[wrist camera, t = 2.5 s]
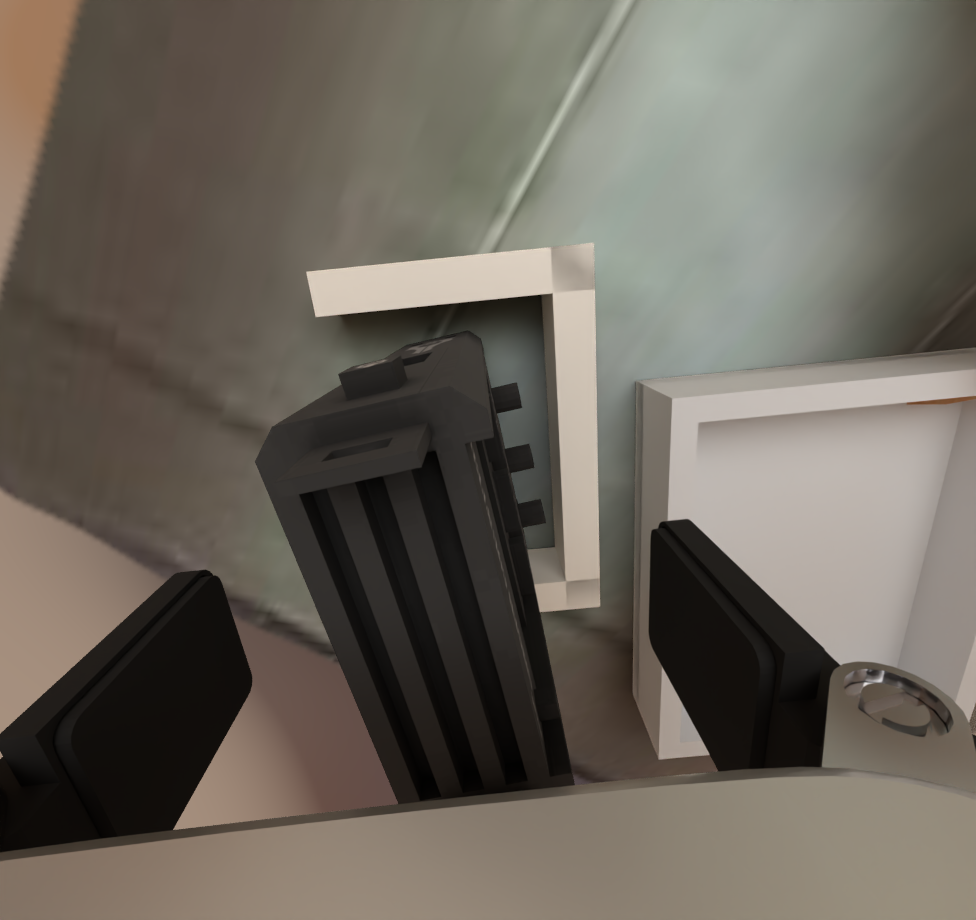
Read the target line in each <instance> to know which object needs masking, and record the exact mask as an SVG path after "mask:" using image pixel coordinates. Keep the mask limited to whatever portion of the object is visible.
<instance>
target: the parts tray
mask: <svg viewBox="0 0 976 920" xmlns="http://www.w3.org/2000/svg"><path fill="white" fill-rule="evenodd" d="M968 396H976V348H965V349H955V350H945V351H935V352H924V353H914V354H904V355H894V356H884V357H873V358H863V359H853V360H843V361H832V362H822V363H812V364H802V365H792V366H781V367H771V368H761V369H751V370H740V371H730V372H720V373H710V374H700V375H689V376H679V377H669V378H659V379H649V380H638V381H636V437H635V523H634V609H633V696H634V699H635V701H636V704H637V706H638V709H639V711H640V714H641V716H642V719H643V721H644V724H645V726H646V729H647V732H648V734H649V737H650V739H651V742H652V744H653V747H654V749H655V752H656V754H657V757H658V759H670V758H681V757H692V756H703V755H710V754H709V752H708V750H707V749H706V747H705V745H704V743H703V741H702V739H701V738H700V736H699V734H698V732H697V730H696V728H695V726H694V725H693V723H692V721H691V719H690V717H689V715H688V714H687V712H686V710H685V708H684V706H683V704H682V702H681V701H680V699H679V697H678V695H677V693H676V691H675V689H674V688H673V686H672V684H671V682H670V680H669V678H668V677H667V675H666V673H665V671H664V669H663V667H662V665H661V664H660V662H659V660H658V658H657V656H656V654H655V653H654V651H653V649H652V646H651V643H650V639H649V631H648V629H649V584H650V539H651V531H652V530H653V529H658V526H659V523H660V522H662V521H671V520H681V519H689V520H691V521H692V522H693V523H694V524H695V525H696V526H697V527H698V528H699V529H700V530H701V531H702V532H703V533H704V534H705V535H706V536H708V537H709V538H710V539H711V540H712V541H713V542H714V543H715V544H716V545H717V546H718V547H719V548H720V549H721V550H722V551H723V552H724V553H725V554H726V555H727V556H728V557H729V558H730V559H731V560H733V561H734V562H735V563H736V564H737V565H738V566H739V567H740V568H741V569H742V570H743V571H744V572H745V573H746V574H747V575H748V576H749V577H750V578H751V579H752V580H753V581H754V582H755V583H757V584H758V585H759V586H760V587H761V588H762V589H763V590H764V591H765V592H766V593H767V594H768V595H769V596H770V597H771V598H772V599H773V600H774V601H775V602H776V603H777V604H778V605H779V606H781V607H782V608H783V609H784V610H785V611H786V612H787V613H788V614H789V615H790V616H791V617H792V618H793V619H794V620H795V621H796V622H797V623H798V624H799V625H800V626H801V627H802V628H803V629H805V630H806V631H807V632H808V633H809V634H810V635H811V636H812V637H813V638H814V639H815V640H816V641H817V642H818V643H819V644H820V645H821V646H822V647H823V648H824V649H825V651H826V652H827V653H828V654H829V655H830V656H831V657H832V658H833V659H834V660H835V661H836V662H838V663H839V664H840V665H842V664H845V663H851V662H856V661H860V662H875V663H879V664H884V665H888V666H893V667H896V668H898V669H901V670H904V671H906V672H909V673H912V674H914V675H916V676H918V677H920V678H922V679H923V680H925V681H927V682H929V683H931V684H933V685H934V686H936V687H937V688H938V689H940V690H941V691H942V692H944V693H945V694H946V695H948V696H949V697H951V698H952V700H953V701H954V702H955V703H956V704H957V705H958V706H959V707H960V708H961V709H962V710H963V712H964V714H965V716H966V718H967V720H968V722H969V721H970V718H971V715H972V712H973V709H974V706H975V703H976V399H973V400H968V401H962V402H956V403H951V404H928V405H907V402H917V401H927V400H937V399H948V398H958V397H968Z"/></svg>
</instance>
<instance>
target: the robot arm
mask: <svg viewBox="0 0 976 920" xmlns="http://www.w3.org/2000/svg"><path fill="white" fill-rule="evenodd" d="M648 631H649V639H650V643H651V646H652V649H653V651H654V653H655V654H656V656H657V658H658V660H659V662H660V664H661V665H662V667H663V669H664V671H665V673H666V675H667V677H668V678H669V680H670V682H671V684H672V686H673V688H674V689H675V691H676V693H677V695H678V697H679V699H680V701H681V702H682V704H683V706H684V708H685V710H686V712H687V714H688V715H689V717H690V719H691V721H692V723H693V725H694V726H695V728H696V730H697V732H698V734H699V736H700V738H701V739H702V741H703V743H704V745H705V747H706V749H707V750H708V752H709V754H710V756H711V758H712V760H713V762H714V763H715V765H716V767H717V769H718V771H719V772H708V773H696V774H685V775H674V776H662V777H651V778H639V779H629V780H620V781H611V782H601V783H592V784H582V785H573V786H563V787H554V788H544V789H535V790H525V791H516V792H506V793H497V794H487V795H478V796H469V797H460V798H451V799H442V800H433V801H424V802H415V803H406V804H397V805H389V806H379V807H370V808H362V809H352V810H343V811H335V812H325V813H317V814H309V815H299V816H290V817H282V818H272V819H264V820H256V821H248V822H239V823H230V824H221V825H213V826H205V827H196V828H188V829H179V830H173V829H174V827H175V825H176V823H177V821H178V820H179V818H180V816H181V814H182V813H183V811H184V809H185V807H186V805H187V804H188V802H189V800H190V798H191V796H192V795H193V793H194V791H195V789H196V788H197V786H198V784H199V782H200V780H201V779H202V777H203V775H204V773H205V772H206V770H207V768H208V766H209V764H210V763H211V761H212V759H213V757H214V755H215V754H216V752H217V750H218V748H219V746H220V745H221V743H222V741H223V739H224V738H225V736H226V734H227V732H228V730H229V729H230V727H231V725H232V723H233V722H234V720H235V718H236V716H237V715H238V713H239V711H240V709H241V707H242V706H243V704H244V702H245V700H246V698H247V697H248V695H249V693H250V691H251V687H252V674H251V671H250V668H249V665H248V662H247V658H246V655H245V653H244V649H243V646H242V644H241V640H240V637H239V634H238V631H237V628H236V625H235V622H234V619H233V616H232V613H231V610H230V607H229V604H228V600H227V597H226V594H225V591H224V588H223V585H222V582H221V580H220V578H219V577H218V576H213V574H212V573H211V572H210V571H208V570H199V571H189V572H180V573H176V574H174V575H173V576H172V577H171V578H170V579H168V580H167V581H166V582H165V583H164V584H163V585H162V586H161V587H160V588H159V589H158V590H156V591H155V592H154V593H153V594H152V595H151V596H150V597H149V598H148V599H147V600H146V601H145V602H143V603H142V604H141V605H140V606H139V607H138V608H137V609H136V610H135V611H134V612H132V613H131V614H130V615H129V616H128V617H127V618H126V619H125V620H124V621H123V622H122V623H120V624H119V626H117V627H116V628H115V629H114V630H113V631H112V632H111V633H110V634H108V635H107V636H106V637H105V638H104V639H103V640H102V641H101V642H100V643H99V644H98V645H96V647H94V648H93V649H92V650H91V651H90V652H89V653H88V654H87V655H86V656H85V657H83V658H82V659H81V660H80V661H79V662H78V663H77V664H76V665H75V666H74V667H72V668H71V669H70V670H69V671H68V672H67V673H66V674H65V675H64V676H63V677H62V678H61V679H60V680H58V681H57V682H56V683H55V684H54V685H53V686H52V687H51V688H50V689H49V690H47V691H46V692H45V693H44V694H43V695H42V696H41V697H40V698H39V699H38V700H37V701H35V702H34V703H33V704H32V705H31V706H30V707H29V708H28V709H27V710H26V711H25V712H23V713H22V714H21V715H20V716H19V717H18V718H17V719H16V720H15V721H14V722H13V723H11V724H10V725H9V726H8V727H7V728H6V729H5V730H4V731H3V732H2V733H1V734H0V752H1V753H2V755H3V757H2V758H1V759H0V920H976V736H975V735H973V734H972V732H971V727H970V724H969V722H968V720H967V718H966V716H965V714H964V712H963V710H962V709H961V708H960V707H959V706H958V705H957V704H956V703H955V702H954V701H953V700H952V698H951V697H949V696H948V695H946V694H945V693H944V692H942V691H941V690H940V689H938V688H937V687H936V686H934V685H933V684H931V683H929V682H927V681H925V680H923V679H922V678H920V677H918V676H916V675H914V674H912V673H909V672H906V671H904V670H901V669H898V668H896V667H893V666H888V665H884V664H879V663H875V662H860V661H856V662H851V663H845V664H842V665H840V664H839V663H838V662H836V661H835V660H834V659H833V658H832V657H831V656H830V655H829V654H828V653H827V652H826V651H825V649H824V648H823V647H822V646H821V645H820V644H819V643H818V642H817V641H816V640H815V639H814V638H813V637H812V636H811V635H810V634H809V633H808V632H807V631H806V630H805V629H803V628H802V627H801V626H800V625H799V624H798V623H797V622H796V621H795V620H794V619H793V618H792V617H791V616H790V615H789V614H788V613H787V612H786V611H785V610H784V609H783V608H782V607H781V606H779V605H778V604H777V603H776V602H775V601H774V600H773V599H772V598H771V597H770V596H769V595H768V594H767V593H766V592H765V591H764V590H763V589H762V588H761V587H760V586H759V585H758V584H757V583H755V582H754V581H753V580H752V579H751V578H750V577H749V576H748V575H747V574H746V573H745V572H744V571H743V570H742V569H741V568H740V567H739V566H738V565H737V564H736V563H735V562H734V561H733V560H731V559H730V558H729V557H728V556H727V555H726V554H725V553H724V552H723V551H722V550H721V549H720V548H719V547H718V546H717V545H716V544H715V543H714V542H713V541H712V540H711V539H710V538H709V537H708V536H706V535H705V534H704V533H703V532H702V531H701V530H700V529H699V528H698V527H697V526H696V525H695V524H694V523H693V522H692V521H691V520H689V519H681V520H671V521H662V522H660V523H659V526H658V529H653V530H652V531H651V539H650V584H649V629H648Z"/></svg>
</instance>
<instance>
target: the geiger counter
mask: <svg viewBox="0 0 976 920" xmlns="http://www.w3.org/2000/svg"><path fill="white" fill-rule="evenodd" d="M338 375H339V378H340V381H341V384H342V385H340V386H339V387H337V388H335V389H334V390H332V391H330V392H329V393H327V394H325V395H324V396H322V397H321V398H319V399H317V400H316V401H314V402H312V403H311V404H309V405H307V406H306V407H304V408H302V409H301V410H299V411H298V412H296V413H294V414H293V415H291V416H289V417H288V418H286V419H284V420H283V421H281V422H279V423H278V424H276V425H275V426H273V427H272V428H271V430H270V432H269V434H268V436H267V438H266V440H265V442H264V444H263V446H262V448H261V451H260V453H259V455H258V457H257V459H256V461H255V463H256V465H257V468H258V470H259V472H260V475H261V477H262V479H263V482H264V484H265V487H266V489H267V491H268V494H269V496H270V499H271V501H272V503H273V506H274V508H275V510H276V513H277V515H278V518H279V520H280V522H281V525H282V527H283V530H284V532H285V534H286V537H287V539H288V541H289V544H290V546H291V549H292V551H293V553H294V556H295V558H296V561H297V563H298V565H299V568H300V570H301V572H302V575H303V577H304V580H305V582H306V584H307V587H308V589H309V592H310V594H311V596H312V599H313V601H314V603H315V606H316V608H317V611H318V613H319V615H320V618H321V620H322V623H323V625H324V627H325V630H326V632H327V634H328V637H329V639H330V642H331V644H332V646H333V649H334V651H335V654H336V656H337V658H338V661H339V663H340V665H341V668H342V670H343V673H344V675H345V677H346V680H347V682H348V685H349V687H350V689H351V692H352V694H353V696H354V699H355V701H356V703H357V706H358V708H359V711H360V713H361V716H362V718H363V720H364V723H365V725H366V727H367V730H368V732H369V735H370V737H371V739H372V742H373V744H374V747H375V749H376V751H377V754H378V756H379V758H380V761H381V763H382V766H383V768H384V770H385V773H386V775H387V778H388V780H389V782H390V785H391V787H392V789H393V792H394V794H395V796H396V799H397V801H398V804H406V803H415V802H424V801H433V800H442V799H451V798H460V797H469V796H478V795H487V794H497V793H506V792H516V791H525V790H535V789H544V788H554V787H563V786H573V785H575V784H574V779H573V774H572V769H571V764H570V759H569V754H568V749H567V744H566V739H565V734H564V729H563V724H562V719H561V714H560V709H559V704H558V699H557V695H556V690H555V685H554V680H553V675H552V670H551V665H550V660H549V655H548V650H547V645H546V640H545V635H544V630H543V625H542V620H541V615H540V610H539V605H538V600H537V595H536V590H535V585H534V580H533V575H532V571H531V566H530V561H529V556H528V551H527V546H526V541H525V536H524V531H523V527H528V526H533V525H537V524H542V523H546V521H545V516H544V511H543V507H542V503H541V500H540V499H539V500H534V501H530V502H525V503H521V504H518V502H517V499H516V495H515V491H514V486H513V482H512V478H511V473H512V472H517V471H522V470H526V469H531V468H534V463H533V458H532V453H531V449H530V445H529V444H525V445H521V446H516V447H512V448H507V449H505V447H504V442H503V438H502V433H501V429H500V424H499V420H498V416H497V413H501V412H505V411H510V410H514V409H519V408H522V405H521V400H520V395H519V390H518V386H517V383H512V384H508V385H504V386H499V387H495V388H491V384H490V380H489V376H488V371H487V367H486V362H485V358H484V352H483V346H482V342H481V339H480V338H479V337H477V336H476V335H474V334H473V333H471V332H469V331H464V332H460V333H456V334H451V335H447V336H443V337H439V338H435V339H430V340H426V341H422V342H418V343H414V344H409V345H406V346H404V347H403V348H401V349H399V350H398V351H396V352H394V353H393V354H391V355H389V356H388V357H386V358H385V359H383V360H379V361H374V362H370V363H366V364H362V365H358V366H353V367H351V368H349V369H347V370H345V371H343V372H341V373H339V374H338Z"/></svg>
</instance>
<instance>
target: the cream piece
mask: <svg viewBox="0 0 976 920" xmlns="http://www.w3.org/2000/svg"><path fill="white" fill-rule="evenodd" d="M307 277H308V282H309V287H310V292H311V296H312V301H313V306H314V311H315V316H316V317H321V316H332V315H342V314H352V313H362V312H372V311H382V310H392V309H402V308H412V307H422V306H432V305H442V304H452V303H462V302H472V301H482V300H492V299H502V298H512V297H522V296H532V295H542V312H543V331H544V350H545V369H546V388H547V407H548V426H549V445H550V464H551V483H552V502H553V520H554V539H555V547H550V548H539V549H529V550H527V551H528V556H529V561H530V566H531V571H532V575H533V580H534V585H535V590H536V595H537V600H538V605H539V610H540V612H548V611H559V610H570V609H580V608H591V607H600V567H599V508H598V449H597V389H596V330H595V271H594V243H587V244H578V245H568V246H558V247H548V248H538V249H528V250H518V251H508V252H498V253H489V254H479V255H469V256H459V257H449V258H439V259H429V260H419V261H409V262H399V263H390V264H380V265H370V266H360V267H350V268H340V269H330V270H320V271H310V272H307Z"/></svg>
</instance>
